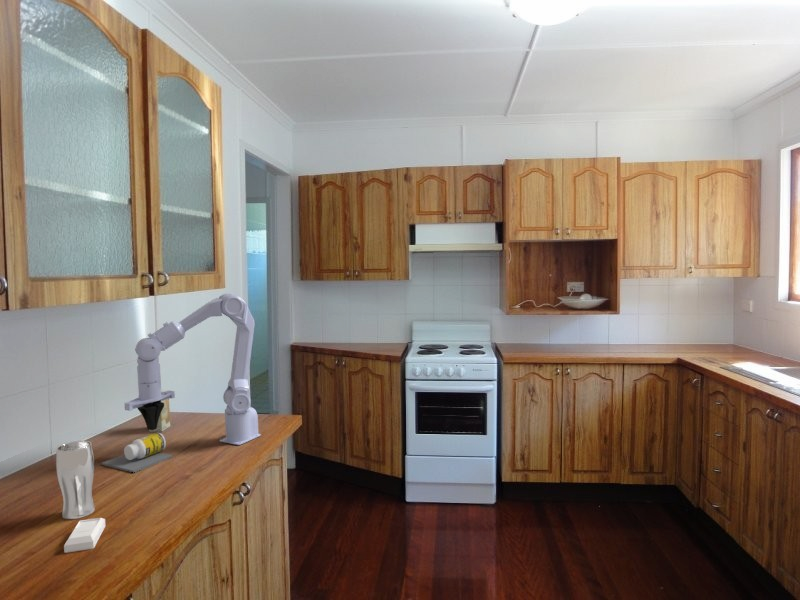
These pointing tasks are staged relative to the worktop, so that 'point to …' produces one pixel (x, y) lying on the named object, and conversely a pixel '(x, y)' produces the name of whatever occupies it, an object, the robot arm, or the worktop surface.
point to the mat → (136, 462)
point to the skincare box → (163, 417)
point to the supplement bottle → (145, 446)
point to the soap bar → (85, 535)
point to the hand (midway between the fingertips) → (152, 429)
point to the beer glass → (76, 478)
